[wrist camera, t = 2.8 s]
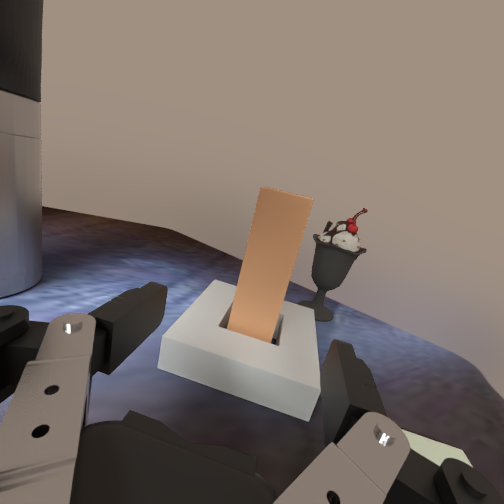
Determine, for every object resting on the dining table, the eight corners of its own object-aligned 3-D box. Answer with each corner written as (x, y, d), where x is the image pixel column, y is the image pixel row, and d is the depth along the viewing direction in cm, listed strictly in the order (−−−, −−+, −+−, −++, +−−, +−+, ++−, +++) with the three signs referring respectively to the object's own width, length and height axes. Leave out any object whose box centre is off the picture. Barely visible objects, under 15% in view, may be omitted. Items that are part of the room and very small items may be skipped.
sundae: (336, 332, 31) (382, 213, 27) (286, 310, 34) (320, 197, 29) (341, 311, 37) (380, 211, 33) (298, 294, 40) (328, 198, 35)
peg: (221, 352, 23) (260, 187, 19) (232, 329, 27) (267, 186, 23) (263, 367, 23) (313, 200, 18) (269, 340, 27) (311, 198, 22)
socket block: (157, 368, 20) (162, 335, 19) (210, 301, 31) (214, 279, 30) (308, 421, 19) (321, 389, 18) (306, 331, 30) (313, 309, 29)
